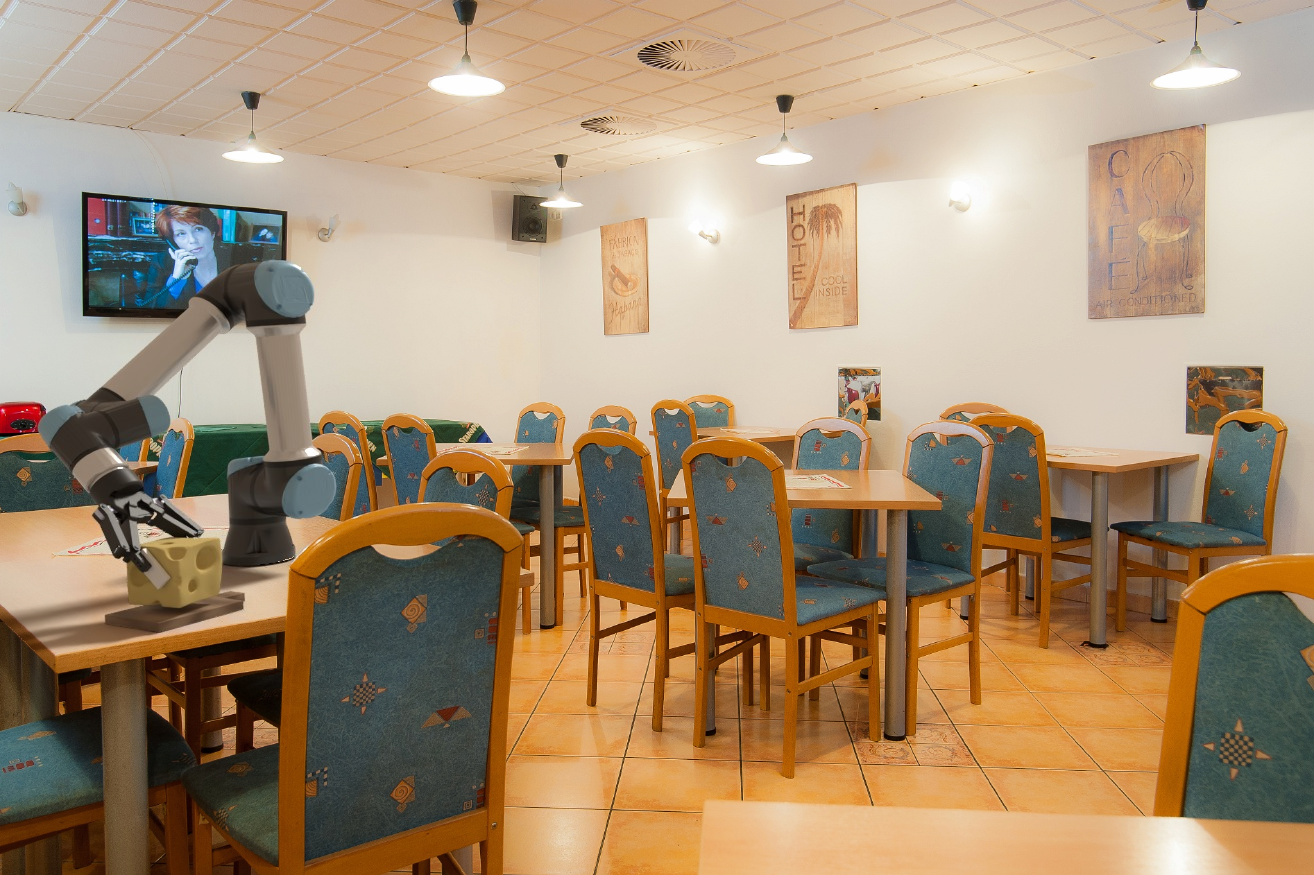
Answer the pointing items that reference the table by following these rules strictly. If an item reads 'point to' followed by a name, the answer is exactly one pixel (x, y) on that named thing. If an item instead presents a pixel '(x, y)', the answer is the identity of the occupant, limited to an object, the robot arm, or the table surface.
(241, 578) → the table surface
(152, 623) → the board
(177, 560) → the cheese
